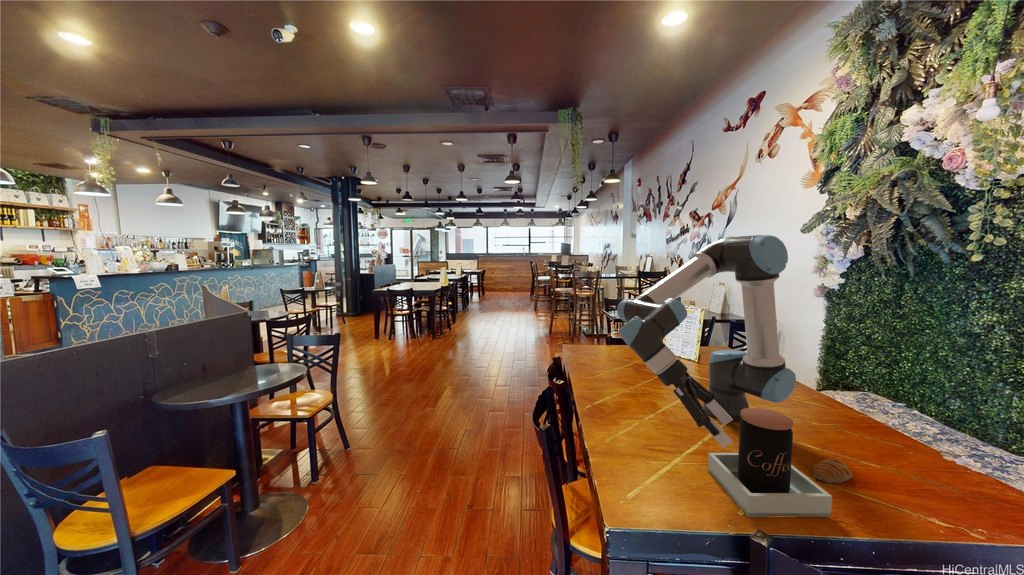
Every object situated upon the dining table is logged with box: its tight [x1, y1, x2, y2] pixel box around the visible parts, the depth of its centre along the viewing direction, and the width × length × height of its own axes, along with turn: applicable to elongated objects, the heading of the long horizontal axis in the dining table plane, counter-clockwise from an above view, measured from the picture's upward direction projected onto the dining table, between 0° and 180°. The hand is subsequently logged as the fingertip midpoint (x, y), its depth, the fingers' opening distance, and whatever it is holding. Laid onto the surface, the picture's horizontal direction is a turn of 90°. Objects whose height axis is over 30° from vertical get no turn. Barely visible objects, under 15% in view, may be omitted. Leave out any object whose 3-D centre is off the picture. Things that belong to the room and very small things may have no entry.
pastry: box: [812, 457, 853, 484], centre depth 97 cm, size 9×7×4 cm
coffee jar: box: [738, 407, 794, 493], centre depth 90 cm, size 11×11×18 cm
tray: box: [707, 452, 833, 519], centre depth 91 cm, size 18×18×5 cm
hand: (728, 432), depth 94 cm, fingers open, 13 cm apart
